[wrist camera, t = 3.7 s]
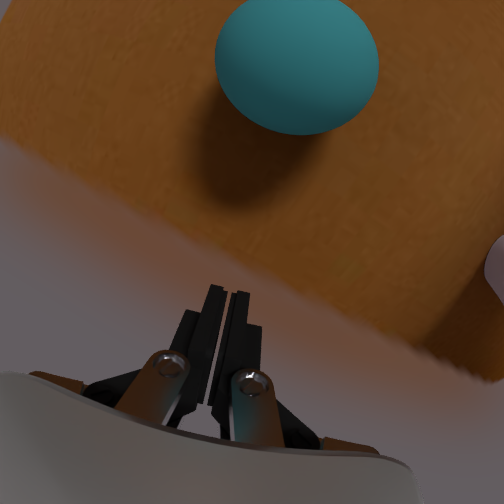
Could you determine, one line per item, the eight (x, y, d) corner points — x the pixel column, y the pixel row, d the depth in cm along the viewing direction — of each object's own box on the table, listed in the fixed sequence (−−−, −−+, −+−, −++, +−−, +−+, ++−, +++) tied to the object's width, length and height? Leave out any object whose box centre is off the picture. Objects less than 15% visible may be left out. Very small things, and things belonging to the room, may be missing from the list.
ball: (364, 41, 9) (415, -2, 4) (338, 148, 12) (382, 165, 7) (244, 11, 9) (224, -51, 4) (216, 119, 12) (174, 113, 7)
